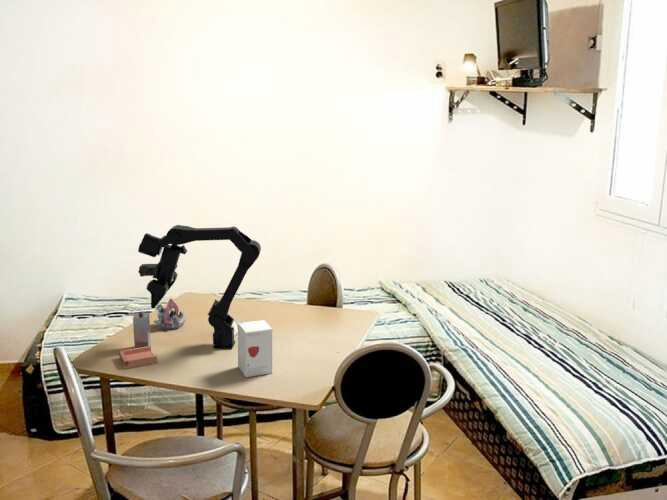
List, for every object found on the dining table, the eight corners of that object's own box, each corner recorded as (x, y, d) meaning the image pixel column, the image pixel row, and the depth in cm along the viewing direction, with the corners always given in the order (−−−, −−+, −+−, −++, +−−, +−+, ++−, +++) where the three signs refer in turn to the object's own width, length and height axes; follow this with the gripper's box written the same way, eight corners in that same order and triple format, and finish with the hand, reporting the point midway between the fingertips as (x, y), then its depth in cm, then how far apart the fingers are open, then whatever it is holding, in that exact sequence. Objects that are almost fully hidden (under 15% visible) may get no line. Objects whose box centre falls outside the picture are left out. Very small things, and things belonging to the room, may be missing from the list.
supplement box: (245, 378, 192) (244, 332, 188) (237, 366, 200) (236, 322, 196) (273, 373, 195) (273, 328, 192) (264, 362, 203) (264, 319, 200)
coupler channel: (150, 352, 209) (150, 345, 209) (157, 363, 201) (157, 356, 200) (119, 357, 205) (119, 350, 204) (125, 369, 196) (125, 361, 196)
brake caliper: (181, 327, 227) (161, 300, 226) (160, 341, 230) (140, 315, 229) (194, 316, 237) (176, 291, 237) (174, 331, 241) (155, 306, 240)
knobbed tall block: (150, 345, 215) (148, 309, 212) (148, 351, 211) (146, 314, 208) (137, 345, 215) (135, 310, 212) (134, 351, 210) (132, 315, 207)
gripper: (152, 247, 217) (140, 288, 220) (137, 261, 199) (124, 305, 202) (183, 257, 218) (170, 298, 221) (171, 272, 200) (158, 315, 203)
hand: (155, 303), depth 212 cm, fingers open, 9 cm apart
